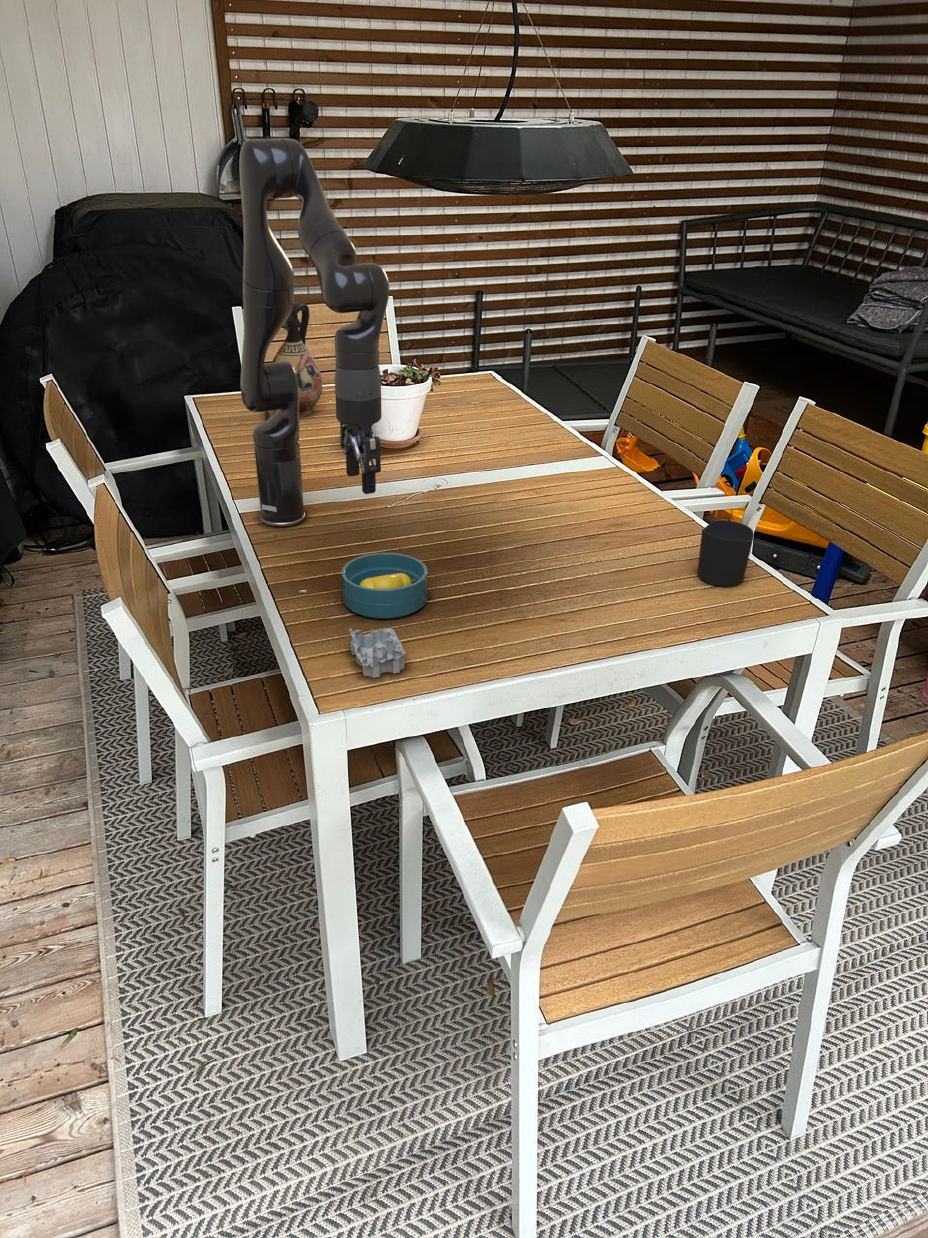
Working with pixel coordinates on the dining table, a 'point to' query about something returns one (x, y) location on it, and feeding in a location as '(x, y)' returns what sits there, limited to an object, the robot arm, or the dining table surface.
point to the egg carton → (377, 651)
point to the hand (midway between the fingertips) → (360, 483)
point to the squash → (388, 581)
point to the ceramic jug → (301, 359)
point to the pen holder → (724, 553)
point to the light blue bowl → (384, 600)
